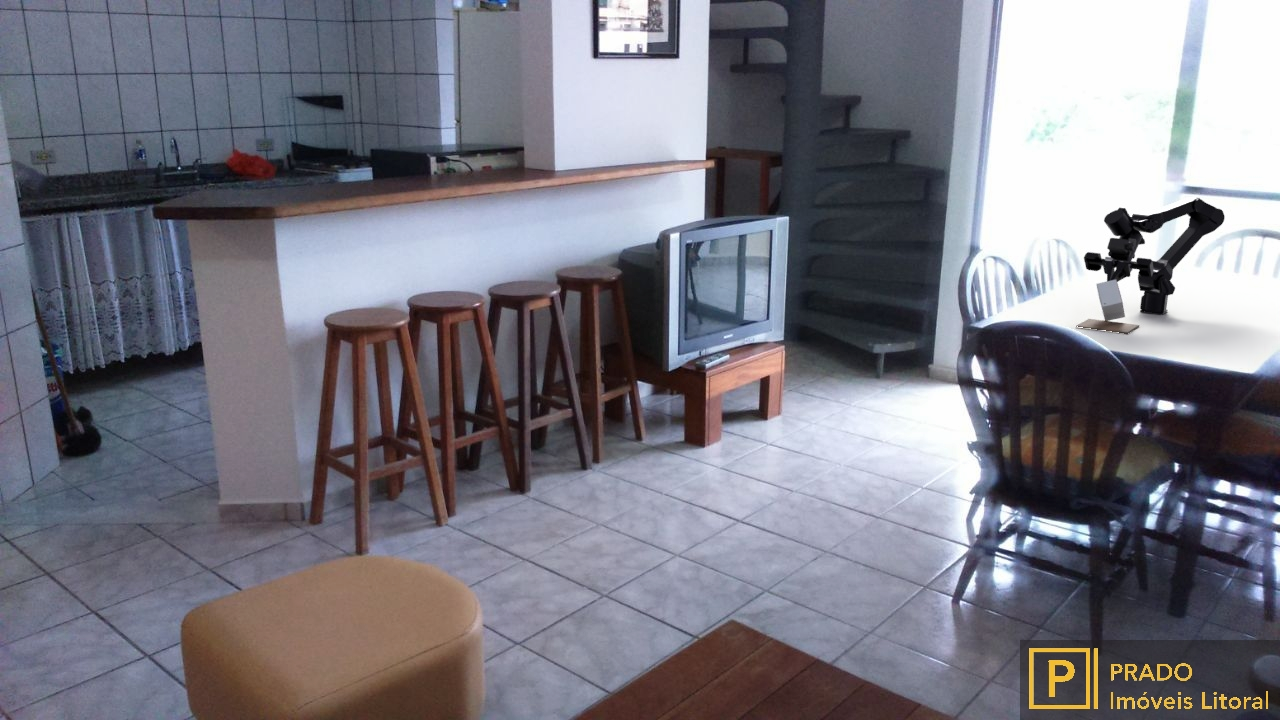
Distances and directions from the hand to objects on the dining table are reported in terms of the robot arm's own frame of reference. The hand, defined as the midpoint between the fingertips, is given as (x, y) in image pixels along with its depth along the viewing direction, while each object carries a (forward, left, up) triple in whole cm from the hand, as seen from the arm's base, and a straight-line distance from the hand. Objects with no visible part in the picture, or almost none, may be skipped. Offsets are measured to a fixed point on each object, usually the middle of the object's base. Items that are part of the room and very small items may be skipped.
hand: (1108, 285), depth 292 cm
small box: (-1, -3, -7) cm, 8 cm away
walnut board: (-3, +6, -11) cm, 13 cm away
